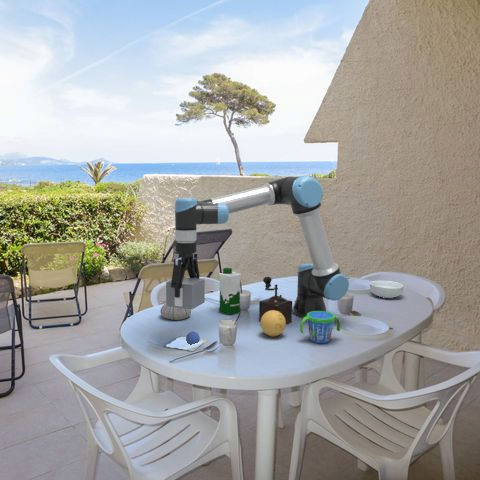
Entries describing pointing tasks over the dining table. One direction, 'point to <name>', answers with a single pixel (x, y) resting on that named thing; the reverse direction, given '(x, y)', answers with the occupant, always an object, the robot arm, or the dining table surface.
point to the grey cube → (187, 293)
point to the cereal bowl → (386, 288)
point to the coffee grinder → (275, 303)
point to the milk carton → (229, 292)
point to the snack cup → (320, 325)
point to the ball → (192, 338)
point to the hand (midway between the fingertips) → (185, 302)
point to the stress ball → (273, 323)
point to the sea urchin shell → (174, 312)
